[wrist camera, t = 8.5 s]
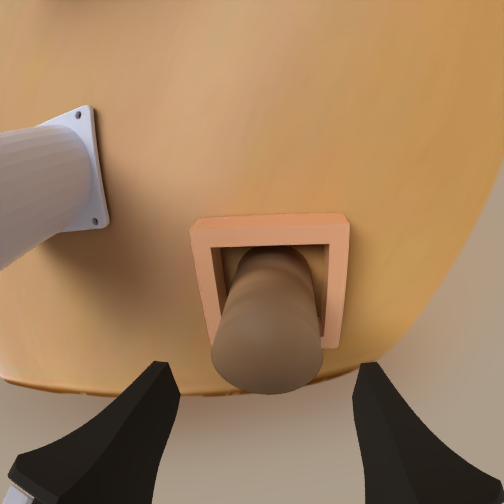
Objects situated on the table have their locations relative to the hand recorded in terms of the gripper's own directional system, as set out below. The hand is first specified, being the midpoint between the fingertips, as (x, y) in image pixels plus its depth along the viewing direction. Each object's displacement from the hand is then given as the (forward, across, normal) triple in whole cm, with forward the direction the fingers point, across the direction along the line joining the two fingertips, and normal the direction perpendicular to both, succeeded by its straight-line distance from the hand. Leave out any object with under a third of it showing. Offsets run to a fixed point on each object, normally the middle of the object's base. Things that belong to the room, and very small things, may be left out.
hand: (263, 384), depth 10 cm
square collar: (+8, 0, 0) cm, 8 cm away
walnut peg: (+8, 0, 0) cm, 8 cm away
